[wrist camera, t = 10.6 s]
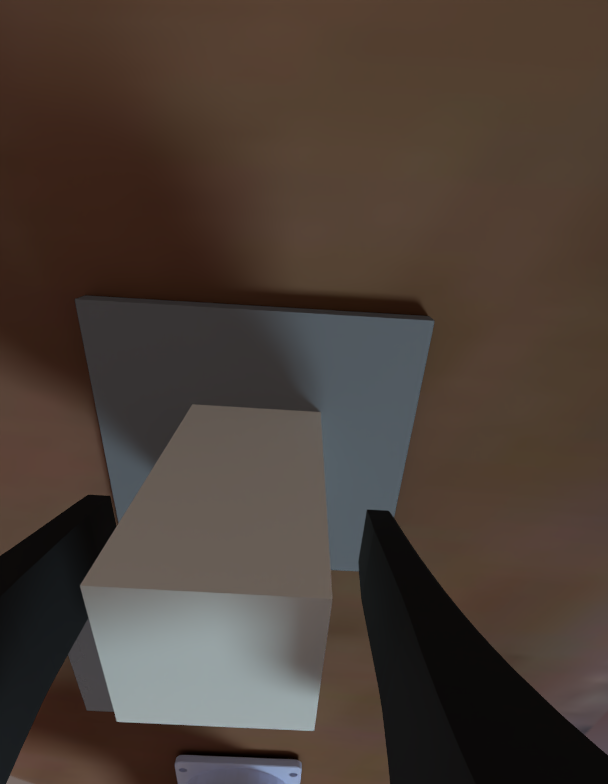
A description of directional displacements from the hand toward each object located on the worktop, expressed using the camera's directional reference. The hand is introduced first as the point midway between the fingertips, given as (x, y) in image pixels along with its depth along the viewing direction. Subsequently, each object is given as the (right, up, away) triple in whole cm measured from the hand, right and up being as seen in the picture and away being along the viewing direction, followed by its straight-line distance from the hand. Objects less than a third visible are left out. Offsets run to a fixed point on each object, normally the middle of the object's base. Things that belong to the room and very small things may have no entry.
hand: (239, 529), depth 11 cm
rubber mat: (0, +2, +4) cm, 4 cm away
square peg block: (0, +1, +3) cm, 3 cm away
